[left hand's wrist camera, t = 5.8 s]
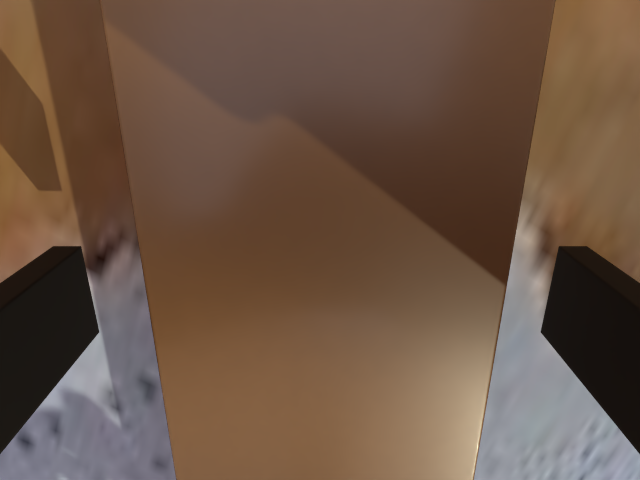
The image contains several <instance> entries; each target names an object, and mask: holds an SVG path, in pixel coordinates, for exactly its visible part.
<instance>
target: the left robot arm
mask: <svg viewBox="0 0 640 480" xmlns="http://www.w3.org/2000/svg"><path fill="white" fill-rule="evenodd" d="M98 333H99V329H98V324H97V319H96V315H95V310H94V305H93V300H92V296H91V291H90V286H89V282H88V277H87V272H86V267H85V263H84V258H83V253H82V249H81V246H53V247H52V248H50V249H49V250H47V251H46V252H44V253H43V254H42V255H40V256H39V257H37V258H36V259H34V260H33V261H31V262H30V263H29V264H27V265H26V266H24V267H23V268H21V269H20V270H19V271H17V272H16V273H14V274H13V275H11V276H10V277H9V278H7V279H6V280H4V281H3V282H1V283H0V454H1V452H2V451H3V450H4V449H5V447H6V446H7V445H8V444H9V443H10V441H11V440H12V439H13V438H14V436H15V435H16V434H17V433H18V431H19V430H20V429H21V428H22V427H23V425H24V424H25V423H26V422H27V420H28V419H29V418H30V417H31V415H32V414H33V413H34V412H35V411H36V409H37V408H38V407H39V406H40V404H41V403H42V402H43V401H44V399H45V398H46V397H47V396H48V395H49V393H50V392H51V391H52V390H53V388H54V387H55V386H56V385H57V383H58V382H59V381H60V380H61V379H62V377H63V376H64V375H65V374H66V372H67V371H68V370H69V369H70V367H71V366H72V365H73V364H74V363H75V361H76V360H77V359H78V358H79V356H80V355H81V354H82V353H83V351H84V350H85V349H86V348H87V347H88V345H89V344H90V343H91V342H92V340H93V339H94V338H95V337H96V335H97V334H98ZM541 333H542V334H543V335H544V337H545V338H546V339H547V340H548V342H549V343H550V344H551V345H552V347H553V348H554V349H555V350H556V351H557V353H558V354H559V355H560V356H561V358H562V359H563V360H564V361H565V363H566V364H567V365H568V366H569V367H570V369H571V370H572V371H573V372H574V374H575V375H576V376H577V377H578V379H579V380H580V381H581V382H582V383H583V385H584V386H585V387H586V388H587V390H588V391H589V392H590V393H591V395H592V396H593V397H594V398H595V399H596V401H597V402H598V403H599V404H600V406H601V407H602V408H603V409H604V411H605V412H606V413H607V414H608V415H609V417H610V418H611V419H612V420H613V422H614V423H615V424H616V425H617V427H618V428H619V429H620V430H621V431H622V433H623V434H624V435H625V436H626V438H627V439H628V440H629V441H630V443H631V444H632V445H633V446H634V447H635V449H636V450H637V451H638V452H639V454H640V283H639V282H637V281H636V280H634V279H633V278H631V277H630V276H629V275H627V274H626V273H624V272H623V271H621V270H620V269H619V268H617V267H616V266H614V265H613V264H611V263H610V262H609V261H607V260H606V259H604V258H603V257H601V256H600V255H598V254H597V253H596V252H594V251H593V250H591V249H590V248H588V247H587V246H559V249H558V253H557V258H556V263H555V267H554V272H553V277H552V282H551V286H550V291H549V296H548V300H547V305H546V310H545V315H544V319H543V324H542V329H541Z"/></svg>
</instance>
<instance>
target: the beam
mask: <svg viewBox="0 0 640 480" xmlns="http://www.w3.org/2000/svg"><path fill="white" fill-rule="evenodd" d="M555 1H556V0H100V6H101V12H102V18H103V25H104V31H105V37H106V43H107V50H108V56H109V62H110V68H111V74H112V81H113V87H114V93H115V99H116V106H117V112H118V118H119V124H120V131H121V137H122V143H123V149H124V156H125V162H126V168H127V174H128V181H129V187H130V193H131V199H132V206H133V212H134V218H135V224H136V231H137V237H138V243H139V249H140V256H141V262H142V268H143V274H144V281H145V287H146V293H147V299H148V306H149V312H150V318H151V324H152V331H153V337H154V343H155V349H156V356H157V362H158V368H159V374H160V381H161V387H162V393H163V399H164V405H165V412H166V418H167V424H168V430H169V437H170V443H171V449H172V455H173V462H174V468H175V474H176V480H474V474H475V468H476V462H477V456H478V451H479V445H480V439H481V433H482V427H483V421H484V416H485V410H486V404H487V398H488V392H489V386H490V380H491V375H492V369H493V363H494V357H495V351H496V345H497V340H498V334H499V328H500V322H501V316H502V310H503V304H504V299H505V293H506V287H507V281H508V275H509V269H510V264H511V258H512V252H513V246H514V240H515V234H516V229H517V223H518V217H519V211H520V205H521V199H522V193H523V188H524V182H525V176H526V170H527V164H528V158H529V153H530V147H531V141H532V135H533V129H534V123H535V117H536V112H537V106H538V100H539V94H540V88H541V82H542V77H543V71H544V65H545V59H546V53H547V47H548V42H549V36H550V30H551V24H552V18H553V12H554V6H555Z"/></svg>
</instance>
